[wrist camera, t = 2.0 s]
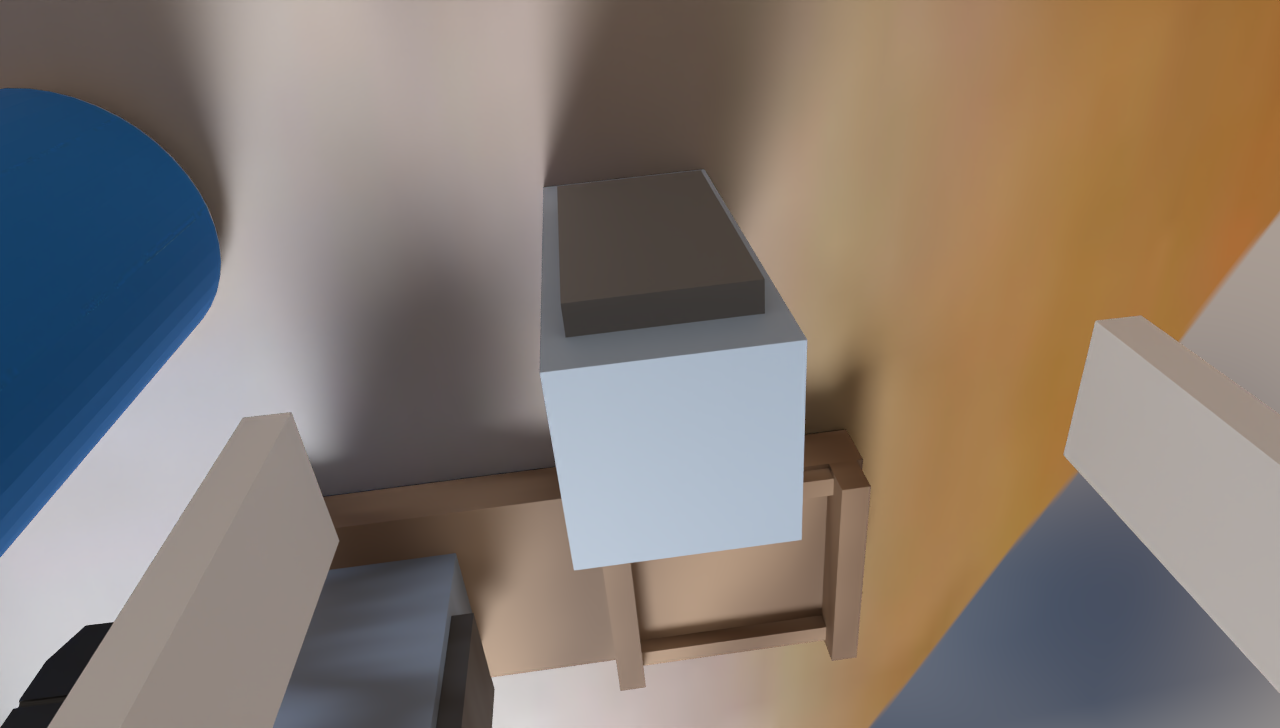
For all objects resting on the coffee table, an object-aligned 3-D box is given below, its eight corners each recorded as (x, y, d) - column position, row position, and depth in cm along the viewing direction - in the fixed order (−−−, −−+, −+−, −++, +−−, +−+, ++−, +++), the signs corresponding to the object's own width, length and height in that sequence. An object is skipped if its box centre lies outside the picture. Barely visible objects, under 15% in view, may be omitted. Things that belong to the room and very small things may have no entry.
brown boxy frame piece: (316, 665, 27) (196, 1052, 18) (246, 506, 23) (52, 890, 14) (835, 593, 27) (977, 928, 18) (845, 429, 24) (1027, 745, 15)
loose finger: (710, 312, 21) (801, 539, 14) (564, 330, 21) (573, 570, 14) (703, 144, 19) (808, 303, 11) (539, 163, 19) (533, 336, 11)
